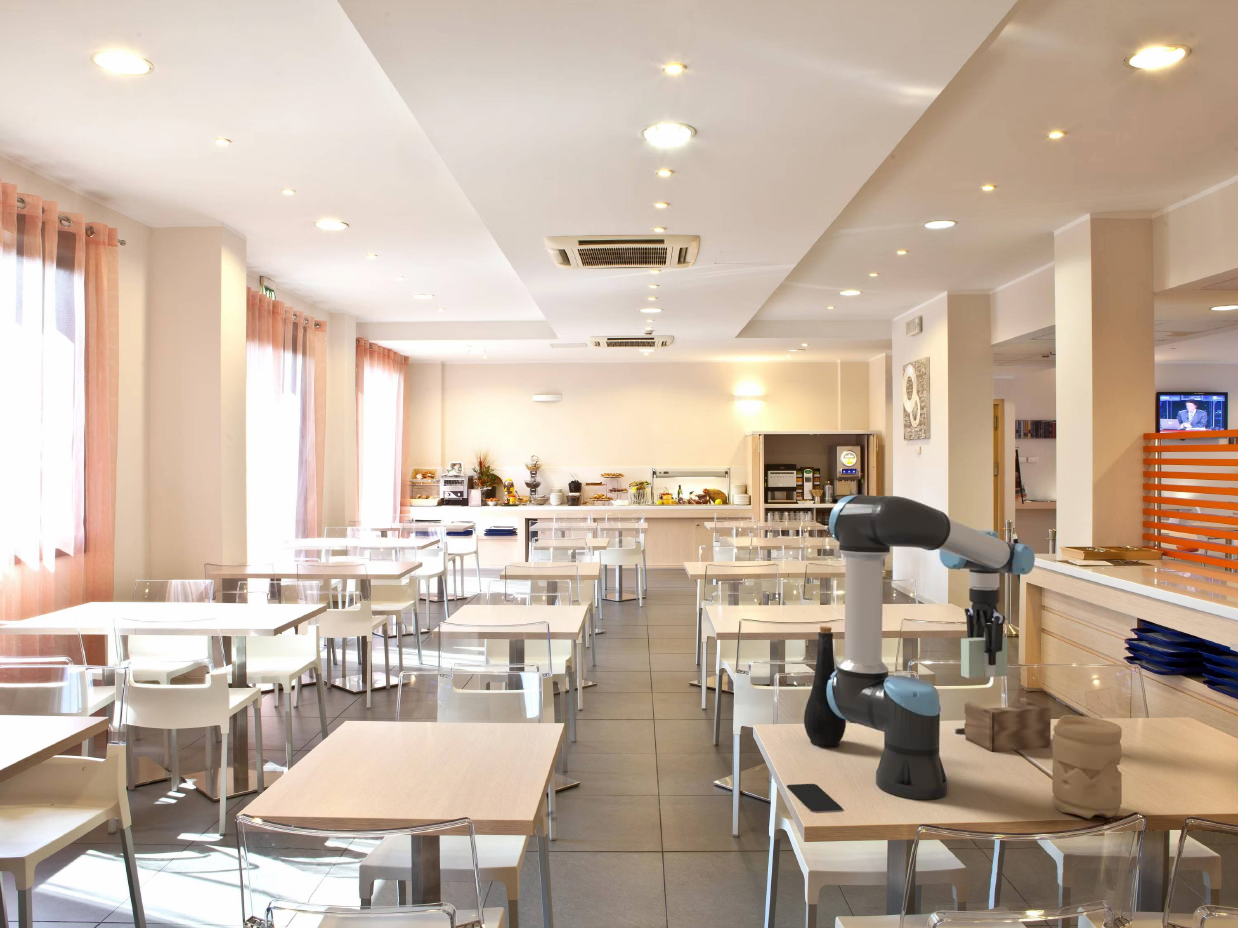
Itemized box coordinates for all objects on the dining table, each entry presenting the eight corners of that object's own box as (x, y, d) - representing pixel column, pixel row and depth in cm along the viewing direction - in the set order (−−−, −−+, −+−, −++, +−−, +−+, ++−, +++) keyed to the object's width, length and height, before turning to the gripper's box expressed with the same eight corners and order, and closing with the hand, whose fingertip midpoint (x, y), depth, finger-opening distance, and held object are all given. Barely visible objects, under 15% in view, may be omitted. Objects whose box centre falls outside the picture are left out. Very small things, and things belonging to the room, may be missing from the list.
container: (1056, 816, 168) (1057, 728, 168) (1048, 795, 179) (1048, 712, 180) (1127, 826, 163) (1127, 735, 164) (1114, 803, 175) (1114, 719, 175)
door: (968, 678, 218) (968, 640, 219) (961, 675, 222) (961, 638, 222) (1007, 675, 221) (1007, 638, 222) (998, 673, 225) (998, 636, 225)
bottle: (850, 741, 215) (851, 626, 215) (838, 752, 206) (839, 632, 206) (811, 734, 220) (812, 622, 221) (797, 744, 212) (799, 627, 212)
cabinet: (991, 751, 208) (991, 711, 209) (952, 733, 223) (952, 696, 224) (1050, 746, 213) (1050, 707, 213) (1007, 729, 228) (1008, 692, 228)
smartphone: (815, 783, 184) (844, 809, 169) (815, 786, 184) (844, 812, 169) (784, 784, 183) (811, 810, 168) (784, 787, 183) (810, 814, 168)
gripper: (1017, 591, 215) (1018, 681, 215) (975, 583, 231) (976, 667, 230) (993, 592, 213) (993, 683, 213) (952, 584, 229) (953, 668, 229)
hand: (984, 674), depth 222 cm, fingers closed on door, 3 cm apart
